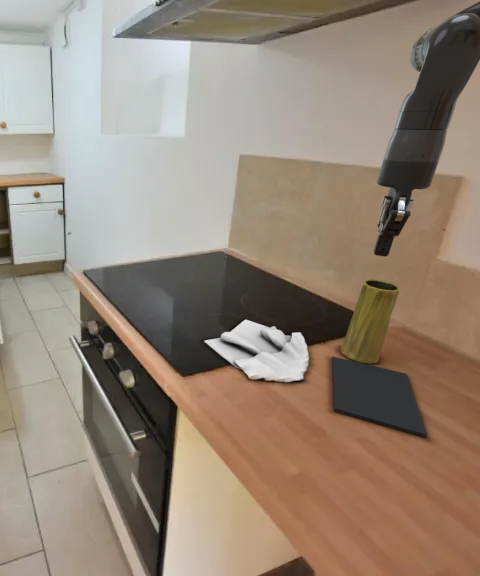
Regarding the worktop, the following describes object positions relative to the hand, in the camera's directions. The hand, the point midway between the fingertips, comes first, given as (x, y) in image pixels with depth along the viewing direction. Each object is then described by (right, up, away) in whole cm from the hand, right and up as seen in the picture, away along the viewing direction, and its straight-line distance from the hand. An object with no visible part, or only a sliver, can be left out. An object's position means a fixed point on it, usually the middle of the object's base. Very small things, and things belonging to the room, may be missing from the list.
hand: (380, 254), depth 72 cm
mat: (-9, -23, -11) cm, 27 cm away
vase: (-4, -19, 0) cm, 20 cm away
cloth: (-21, -18, +2) cm, 28 cm away
